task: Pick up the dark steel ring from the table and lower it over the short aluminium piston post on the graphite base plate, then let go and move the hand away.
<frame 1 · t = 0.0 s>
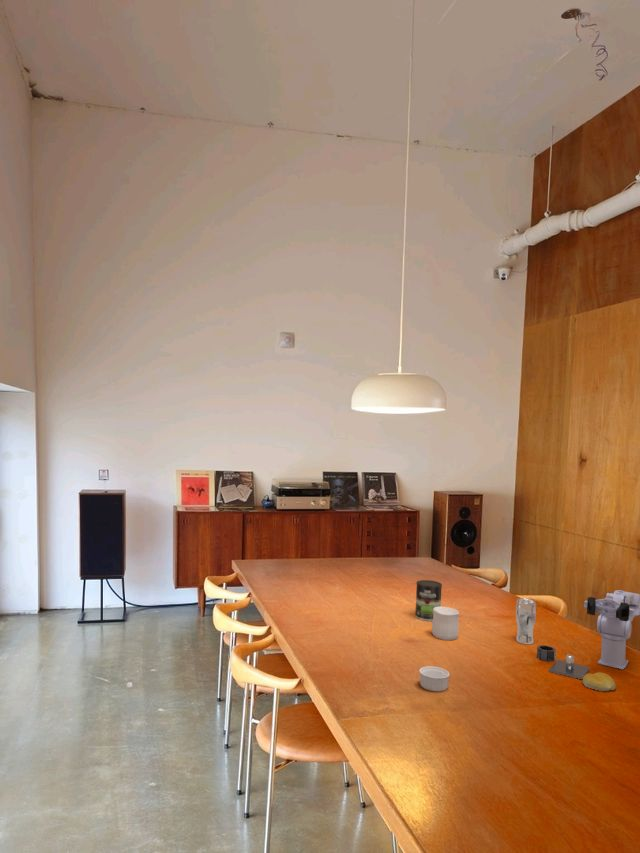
hand: (603, 611, 187), 22 cm above the table, tool horizontal, fingers open, 7 cm apart
beer glass: (524, 642, 221), on the table
bread roll: (598, 687, 183), on the table
ramekin: (433, 687, 179), on the table
cup: (444, 636, 224), on the table
piston post: (569, 670, 195), on the table
ring: (546, 658, 205), on the table
coffee can: (427, 617, 246), on the table
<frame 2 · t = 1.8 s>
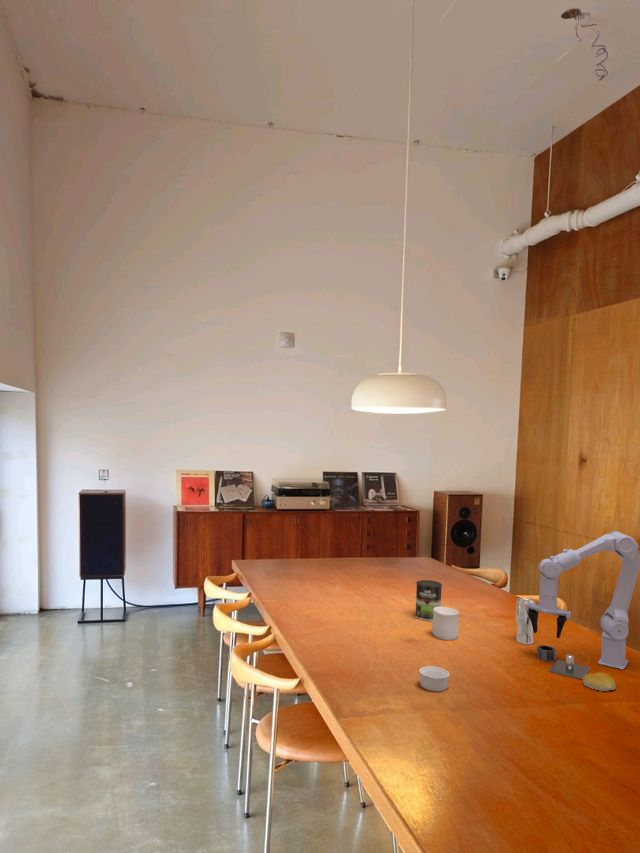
hand: (546, 634, 205), 8 cm above the table, tool pointing down, fingers open, 7 cm apart
nothing on the table moved.
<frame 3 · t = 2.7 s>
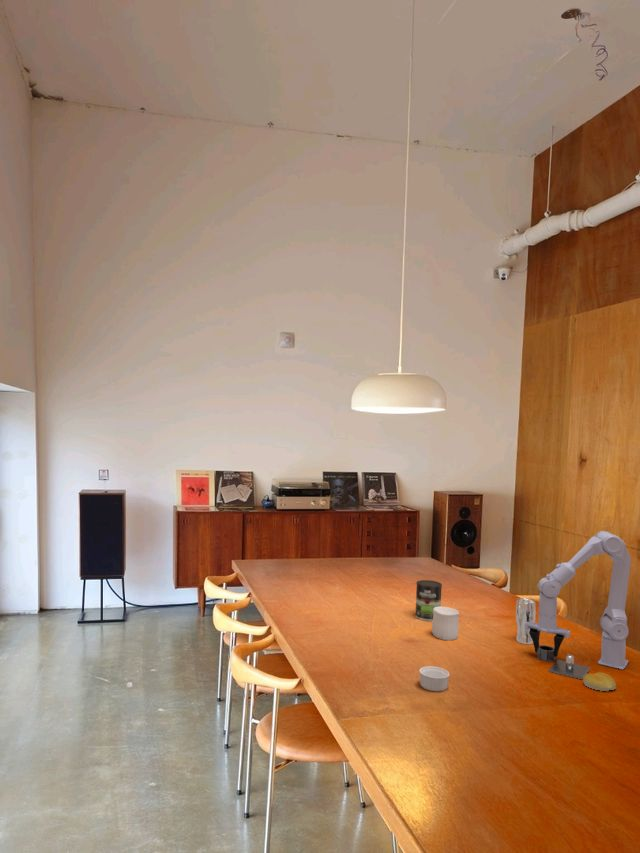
hand: (546, 653, 205), 2 cm above the table, tool pointing down, fingers closed on ring, 6 cm apart
ring: (546, 658, 205), on the table, touching gripper
everything else where it was.
when the fingers open (4 cm above the table, at t = 6.6 s): ring drops 2 cm, resting on piston post.
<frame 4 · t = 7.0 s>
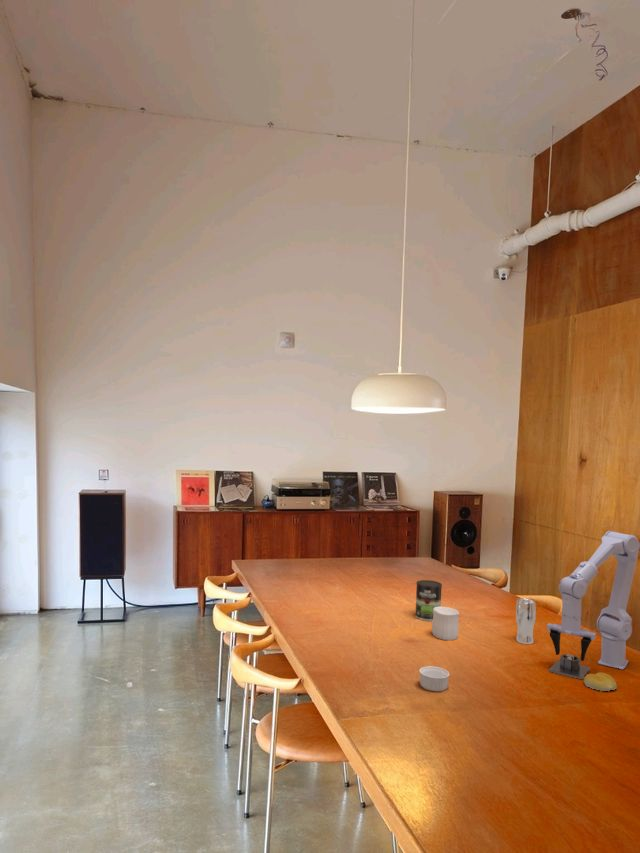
hand: (570, 657, 195), 4 cm above the table, tool pointing down, fingers open, 7 cm apart
ring: (569, 668, 195), point 1 cm above the table, touching piston post
everything else where it was.
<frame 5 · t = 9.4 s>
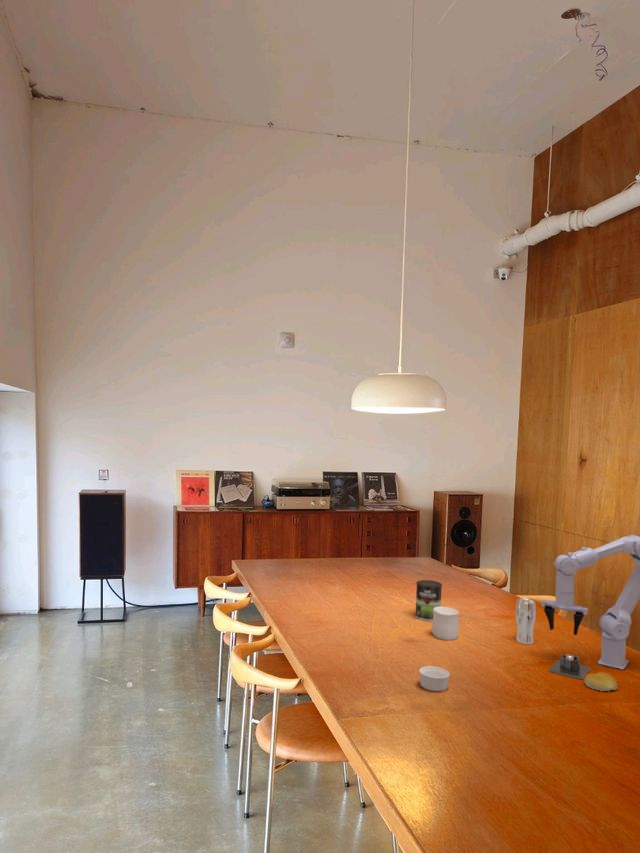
hand: (563, 631, 203), 10 cm above the table, tool pointing down, fingers open, 7 cm apart
nothing on the table moved.
at the end: ring 0.1 cm off-centre on the piston post, point 0.8 cm above the piston post's base; the gripper is holding nothing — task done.
